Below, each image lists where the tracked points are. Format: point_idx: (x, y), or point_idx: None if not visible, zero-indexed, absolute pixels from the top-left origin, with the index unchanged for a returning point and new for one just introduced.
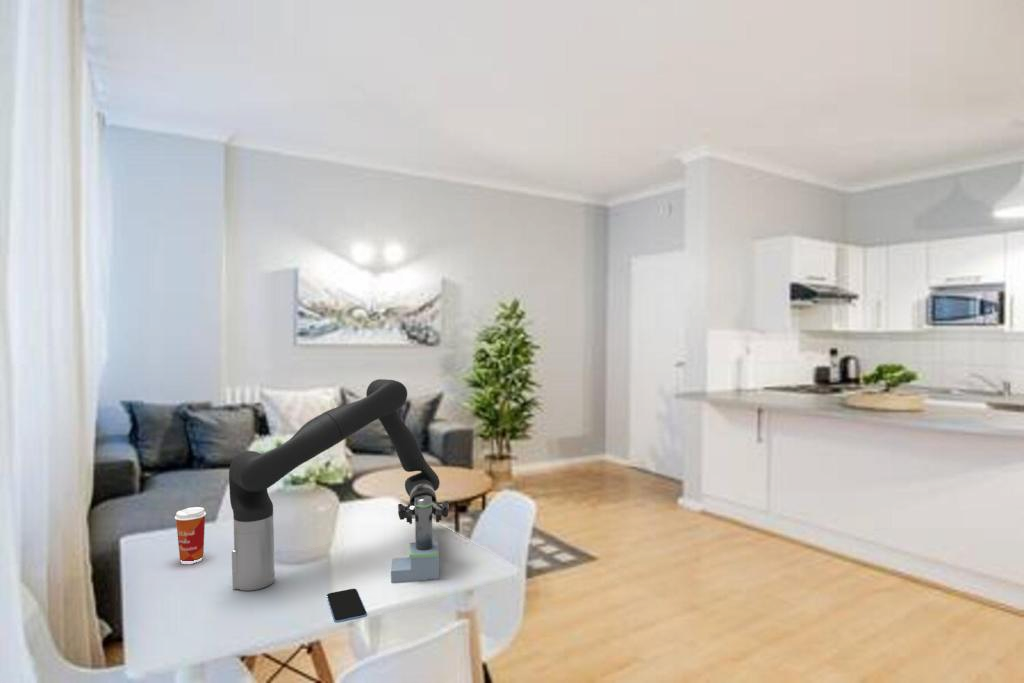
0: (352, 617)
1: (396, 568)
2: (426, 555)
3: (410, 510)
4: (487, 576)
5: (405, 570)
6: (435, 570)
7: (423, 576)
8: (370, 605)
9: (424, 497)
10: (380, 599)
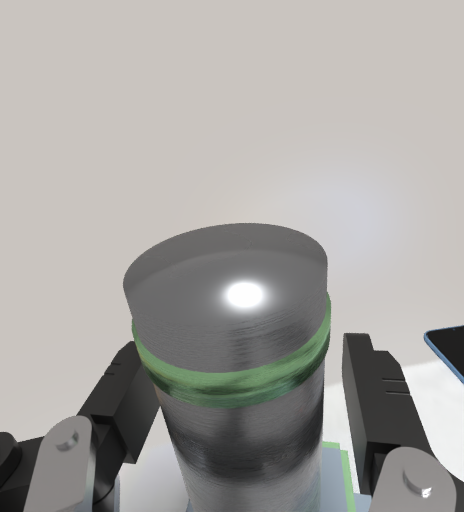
0: (454, 327)
1: None
2: None
3: (390, 459)
4: None
5: (364, 495)
6: None
7: None
8: (436, 376)
9: (204, 271)
10: (419, 401)
